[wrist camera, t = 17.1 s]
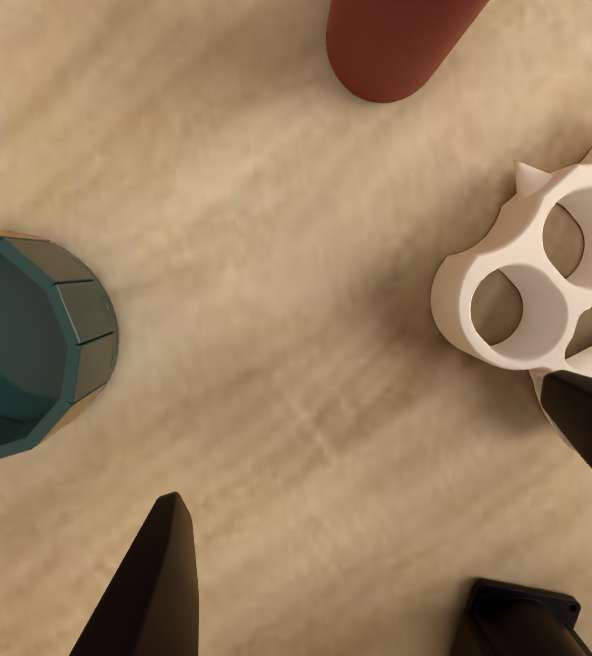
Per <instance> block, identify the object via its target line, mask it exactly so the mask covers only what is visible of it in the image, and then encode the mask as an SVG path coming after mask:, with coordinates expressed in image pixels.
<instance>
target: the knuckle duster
mask: <svg viewBox="0 0 592 656" xmlns="http://www.w3.org/2000/svg"><path fill="white" fill-rule="evenodd" d="M514 165H515V175H516V185H517V193H516V194H515V195H514V196H513V197H512V198H511V199H510V200H509V201H508V202H506V203H505V204H504V205H503V206H502V207H501V210H500V213H499V215H498V218H497V220H496V222H495V224H494V226H493V227H492V229H491V230H490V232H489V233H488V234H487V235H486V236H485V237H484V238H483V239H482V240H481V241H480V242H479V243H478V244H476V245H475V246H473V247H472V248H470V249H468V250H466V251H464V252H461V253H458V254H454V255H449V256H447V257H446V259H445V260H444V261H443V263H442V264H441V266H440V267H439V269H438V271H437V273H436V275H435V278H434V281H433V285H432V289H431V309H432V314H433V318H434V320H435V323H436V325H437V327H438V329H439V330H440V332H441V333H442V335H443V336H444V337H445V338H446V339H447V340H448V341H449V342H450V343H451V344H453V345H454V346H455V347H457V348H458V349H460V350H462V351H464V352H466V353H468V354H470V355H472V356H474V357H476V358H478V359H480V360H483V361H485V362H487V363H489V364H491V365H493V366H496V367H499V368H504V369H509V370H529V373H530V375H531V377H532V380H533V382H534V388H535V392H536V395H537V398H538V400H539V403H540V405H541V402H540V396H541V389H542V383H543V378H544V376H545V375H546V374H548V373H551V372H554V371H557V370H567V371H570V372H574V373H577V374H581V375H585V376H588V377H592V346H591V347H589V348H587V349H585V350H583V351H581V352H579V353H577V354H575V355H573V356H571V357H569V358H567V359H565V356H564V355H565V350H566V347H567V345H568V344H569V342H570V341H571V339H572V336H573V334H574V331H575V328H576V324H577V320H578V318H579V316H580V315H581V314H582V313H583V312H584V311H585V310H587V309H589V308H591V307H592V149H591V150H590V151H589V153H588V154H587V155H586V157H585V158H584V159H583V160H582V161H581V162H580V163H579V164H574V165H571V166H568V167H565V168H562V169H560V170H557V171H554V172H551V173H547V172H544V171H542V170H539V169H537V168H534V167H531V166H529V165H526V164H523V163H521V162H518V161H516V160H514ZM556 202H557V203H559V204H561V205H562V206H563V207H565V208H566V209H567V211H568V212H569V213H570V214H571V215H572V216H573V218H574V219H575V220H576V221H577V222H578V224H579V225H580V227H581V229H582V231H583V235H584V240H585V248H584V254H583V257H582V260H581V262H580V264H579V265H578V267H577V268H576V270H575V271H574V272H573V273H572V274H571V275H570V276H569V277H567V278H566V279H564V278H563V276H562V275H561V274H560V273H559V272H558V271H557V270H556V268H555V267H554V266H553V265H552V264H551V263H550V261H549V260H548V258H547V256H546V254H545V251H544V248H543V243H542V232H543V226H544V222H545V220H546V217H547V215H548V213H549V212H550V210H551V208H552V207H553V206H554V205H555V204H556ZM496 269H499V270H500V271H502V272H503V273H504V274H505V275H506V276H507V277H508V278H509V280H510V281H511V282H512V283H513V284H514V285H515V286H516V288H517V289H518V290H519V292H520V294H521V297H522V301H523V315H522V319H521V321H520V324H519V326H518V327H517V329H516V330H515V332H514V333H513V334H512V335H511V336H510V337H509V338H507V339H506V340H504V341H503V342H501V343H498V344H496V345H491V346H489V345H488V344H487V343H486V342H485V341H484V340H483V339H482V338H481V337H480V336H479V335H478V333H477V332H476V330H475V328H474V326H473V324H472V321H471V315H470V306H471V300H472V297H473V294H474V292H475V290H476V288H477V286H478V285H479V283H480V282H481V281H482V280H483V279H484V278H485V277H486V276H487V275H488V274H490V273H491V272H493V271H494V270H496ZM541 407H542V405H541ZM542 409H543V407H542ZM543 411H544V409H543ZM544 413H545V415H546V417H547V419H548V420H549V422H550V423H551V425H552V427H553V428H554V430H555V431H556V433H557V434H558V435H559V437H560V438H561V439H562V441H563V442H564V443H565V444H566V445H567V446H568V447H570V448H571V449H573V450H574V451H576V449H575V448H574V447H573V446H572V444H571V443H570V442H569V441H568V439H567V438H566V437H565V436H564V434H563V433H562V432H561V431H560V429H559V428H558V427H557V426H556V424H555V423H554V422H553V421H552V419H551V418H550V417H549V416H548V414H547V413H546V412H545V411H544Z"/></svg>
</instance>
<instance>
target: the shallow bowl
mask: <svg viewBox="0 0 592 656" xmlns="http://www.w3.org/2000/svg"><path fill="white" fill-rule="evenodd" d="M117 351H118V328H117V322H116V317H115V313H114V310H113V307H112V304H111V302H110V300H109V297H108V295H107V293H106V291H105V290H104V288H103V287H102V285H101V283H100V282H99V280H98V279H97V278H96V277H95V275H94V274H93V273H92V272H91V270H90V269H89V268H88V267H87V266H86V265H85V264H84V263H83V262H81V261H80V260H79V259H78V258H77V257H75V256H74V255H73V254H71V253H70V252H68V251H67V250H65V249H63V248H62V247H60V246H58V245H56V244H55V243H53V242H50V241H49V240H45V239H42V238H38V237H35V236H31V235H25V234H19V233H14V232H10V231H6V230H1V229H0V459H1V458H4V457H8V456H11V455H14V454H18V453H21V452H24V451H28V450H31V449H33V448H34V447H36V446H38V445H39V444H40V443H42V442H43V441H45V440H46V439H47V438H49V437H50V436H51V435H53V434H54V433H56V432H57V431H58V430H60V429H61V428H62V427H64V426H65V425H67V424H68V423H69V422H71V421H72V420H73V419H75V418H76V417H77V416H78V415H79V414H80V413H81V412H82V411H83V410H84V408H85V407H86V406H88V405H89V404H90V403H91V402H92V401H93V400H94V399H95V398H96V397H97V396H98V395H99V394H100V392H101V391H102V390H103V388H104V387H105V385H106V384H107V382H108V380H109V378H110V376H111V373H112V371H113V368H114V366H115V361H116V357H117Z"/></svg>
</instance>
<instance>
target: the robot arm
mask: <svg viewBox="0 0 592 656" xmlns="http://www.w3.org/2000/svg"><path fill="white" fill-rule="evenodd" d="M540 402H541V405H542V407H543V409H544V411H545V412H546V413H547V414H548V416H549V417H550V418H551V419H552V421H553V422H554V423H555V424H556V426H557V427H558V428H559V429H560V431H561V432H562V433H563V434H564V436H565V437H566V438H567V439H568V441H569V442H570V443H571V444H572V446H573V447H574V448H575V449H576V451H577V452H578V453H579V454H580V456H581V457H582V458H583V459H584V460H585V461H586V463H587V464H588V465H589V466H590V467H591V468H592V377H588V376H585V375H581V374H577V373H574V372H570V371H567V370H557V371H554V372H551V373H548V374H546V375H545V376H544V378H543V383H542V389H541V396H540ZM483 588H485V589H483ZM482 589H483V590H482ZM580 609H581V606H580V604H579V603H578V602H577V601H576V599H575V598H574V597H572V596H569V595H564V594H559V593H553V592H548V591H543V590H538V589H532V588H527V587H522V586H517V585H512V584H506V583H501V582H496V581H491V580H486V579H479V580H477V581H476V582H475V583H474V585H473V587H472V590H471V593H470V596H469V599H468V602H467V605H466V608H465V611H464V614H463V616H462V618H461V621H460V624H459V627H458V630H457V633H456V636H455V639H454V642H453V645H452V648H451V652H450V655H449V656H592V652H591V651H590V650H589V649H588V647H587V646H586V645H585V644H584V642H583V641H582V640H581V638H580V637H579V636H578V635H577V633H576V632H575V631H574V630H573V628H574V625H575V623H576V620H577V617H578V615H579V612H580ZM198 640H199V591H198V579H197V568H196V557H195V546H194V535H193V525H192V519H191V515H190V513H189V511H188V509H187V507H186V505H185V503H184V501H183V500H182V498H181V496H180V494H179V493H178V492H172V493H169V494H166V495H163V496H160V497H159V498H158V499H157V500H156V502H155V504H154V505H153V507H152V509H151V511H150V513H149V514H148V516H147V518H146V520H145V521H144V523H143V525H142V527H141V529H140V530H139V532H138V534H137V536H136V537H135V539H134V541H133V543H132V545H131V546H130V548H129V550H128V552H127V553H126V555H125V557H124V559H123V561H122V562H121V564H120V566H119V568H118V569H117V571H116V573H115V575H114V576H113V578H112V580H111V582H110V584H109V585H108V587H107V589H106V591H105V592H104V594H103V596H102V598H101V600H100V601H99V603H98V605H97V607H96V608H95V610H94V612H93V614H92V616H91V617H90V619H89V621H88V623H87V624H86V626H85V628H84V630H83V632H82V633H81V635H80V637H79V639H78V640H77V642H76V644H75V646H74V648H73V649H72V651H71V653H70V655H69V656H198Z"/></svg>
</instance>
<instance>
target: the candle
mask: <svg viewBox="0 0 592 656" xmlns="http://www.w3.org/2000/svg"><path fill="white" fill-rule="evenodd" d="M488 1H489V0H331V6H330V12H329V18H328V24H327V32H326V46H327V53H328V57H329V60H330V63H331V66H332V68H333V70H334V72H335V74H336V75H337V77H338V78H339V80H340V81H341V82H342V83H343V84H344V85H345V87H346V88H348V89H349V90H350V91H351V92H353V93H354V94H356V95H357V96H359V97H361V98H364V99H366V100H370V101H374V102H393V101H397V100H400V99H404V98H406V97H408V96H410V95H412V94H413V93H415V92H416V91H418V90H419V89H420V88H421V87H422V86H423V85H424V84H425V83H426V82H427V81H428V80H429V78H430V77H431V76H432V75H433V73H434V72H435V71H436V69H437V68H438V67H439V65H440V64H441V63H442V61H443V60H444V59H445V58H446V56H447V55H448V54H449V52H450V51H451V50H452V48H453V47H454V46H455V44H456V43H457V42H458V41H459V39H460V38H461V37H462V35H463V34H464V33H465V31H466V30H467V29H468V27H469V26H470V25H471V24H472V22H473V21H474V20H475V18H476V17H477V16H478V14H479V13H480V12H481V11H482V9H483V8H484V7H485V5H486V4H487V3H488Z"/></svg>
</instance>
